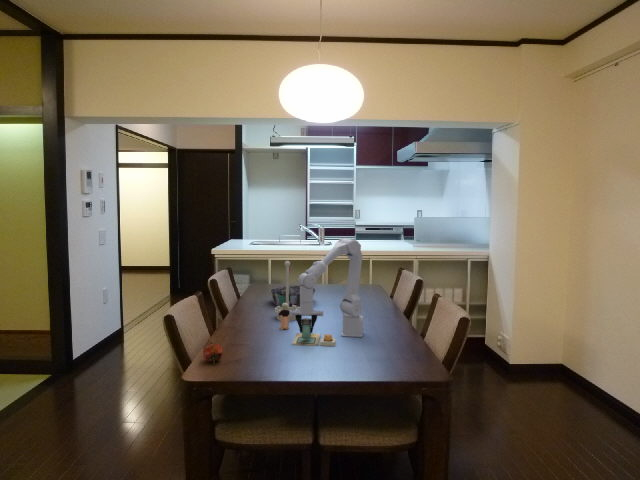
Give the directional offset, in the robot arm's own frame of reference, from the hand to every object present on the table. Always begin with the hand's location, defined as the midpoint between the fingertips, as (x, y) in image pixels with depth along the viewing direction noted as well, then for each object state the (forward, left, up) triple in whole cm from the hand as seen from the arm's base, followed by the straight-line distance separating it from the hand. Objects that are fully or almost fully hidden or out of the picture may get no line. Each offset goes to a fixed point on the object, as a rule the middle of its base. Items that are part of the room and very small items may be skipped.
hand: (306, 332), depth 186 cm
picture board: (0, -3, -4) cm, 5 cm away
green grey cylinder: (0, 0, -2) cm, 3 cm away
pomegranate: (+33, +26, -5) cm, 42 cm away
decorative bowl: (+16, -69, -5) cm, 71 cm away
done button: (-9, +1, -3) cm, 10 cm away
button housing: (-9, +1, -4) cm, 11 cm away
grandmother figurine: (+12, -18, -5) cm, 22 cm away
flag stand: (+14, -37, -5) cm, 40 cm away
